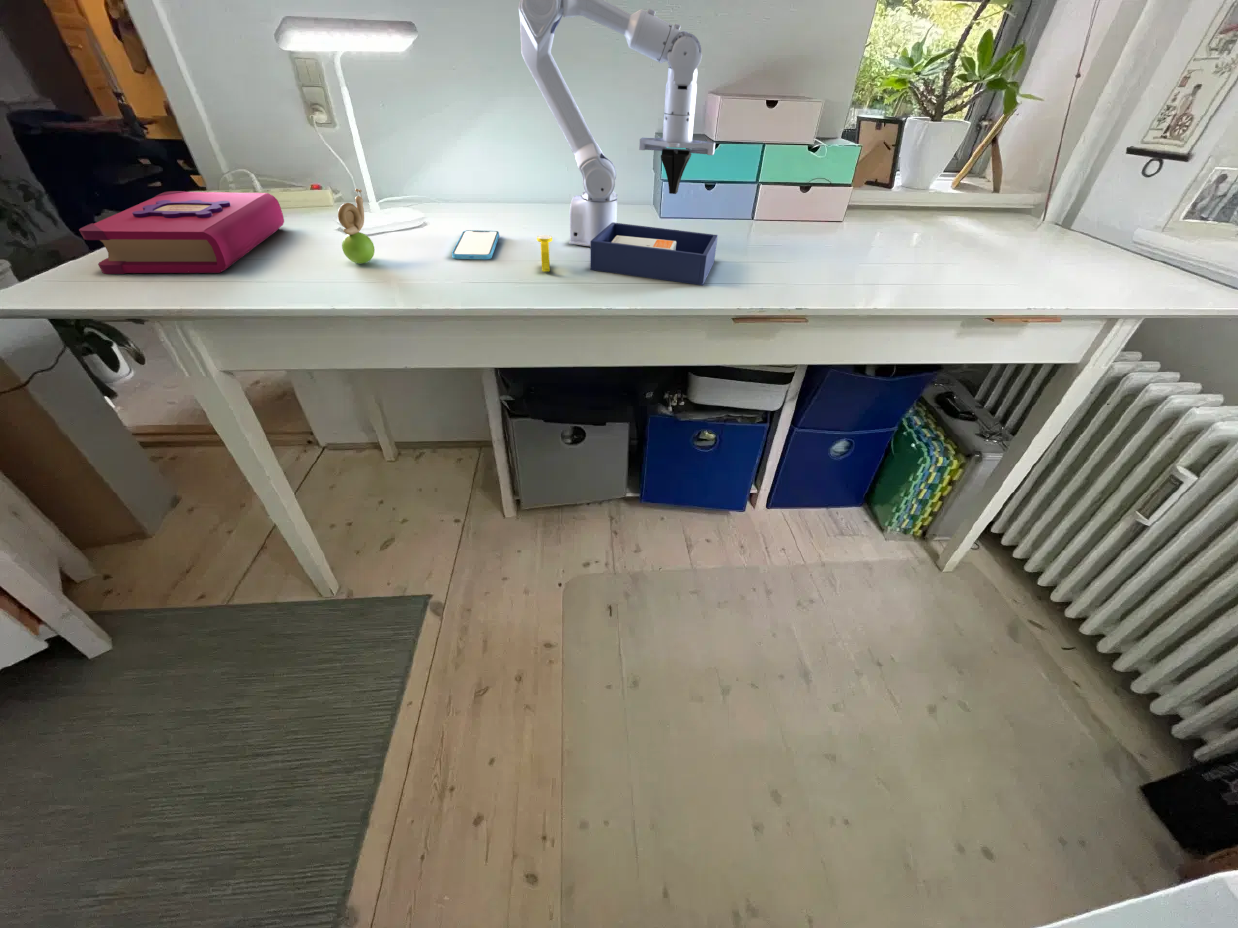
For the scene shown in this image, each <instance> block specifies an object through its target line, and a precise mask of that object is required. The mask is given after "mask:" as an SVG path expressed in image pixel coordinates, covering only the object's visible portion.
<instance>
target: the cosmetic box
mask: <svg viewBox="0 0 1238 928" xmlns="http://www.w3.org/2000/svg"><path fill="white" fill-rule="evenodd" d="M612 242H613V243H621V244H628V245H636V246H644V247H652V248H660V249H668V250H676V241H671V240H661V239H650V238H639V237H628V236H618V235H617V236H616V237H615V238H614V239H613V241H612Z"/></svg>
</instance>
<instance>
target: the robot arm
mask: <svg viewBox="0 0 1238 928" xmlns="http://www.w3.org/2000/svg"><path fill="white" fill-rule="evenodd" d="M518 15H519V27H520V30H519V31H520V52H521V56H522V59H523V61H524V63H525V65H526V67H527V69H528V71H529V73H530V75H531V76H532V78H533V80H534V82H535V84H536V85H537V88H538V89H539V91H540V93H541V95H542V97H543V99H544V101H545V102H546V105H547V106H548V109H549V110H550V113H551V114H552V116H553V118H554V120H555V121H556V123H557V125H558V127H559V129H560V131H561V133H562V135H563V137H564V138H565V140H566V142H567V144H568V146H569V148H570V149H571V151H572V153H573V155H574V159H575V162H576V165H577V168H578V170H579V172H580V174H581V177H582V186H583V190H584V191H583V192H582V193H581V194H580V195H579V194H576V195H573V197H572V199H571V201H570V205H569V238H570V239H569V241H568V245H569V244H570V245H575V246H584V247H590V241H591V240H592V239H593V238H595V237H596V236H597V235H598V234H599V233H600V232H602V231H603V230H604V229H605V228H606V227H607V226H608V225H610V224H611V223H612V222H613V223H618V222H617V220H618V194H617V193H616V192H615V187H616V180H617V169H616V166H615V164H614V162H613V161H612V160H611V159H609V157H607V155H605V154H604V152H603V151H602V149H601V146H600V145H599V144H598V142H597V141H596V139H595V138H594V136H593V134H592V132H591V130H590V128H589V126H588V124H587V122H586V120H585V118H584V116H583V114H582V112H581V109H580V108H579V107H578V104H577V102H576V100H575V98H574V96H573V94H572V92H571V90H570V88H569V86H568V84H567V82H566V80H565V79H564V75H562V72H561V70H560V68H559V66H558V64H557V62H556V60H555V59H554V56H553V54H552V48H553V43H554V39H555V34H556V33H555V32H556V30H557V28H558V26H559V24H560V22H561V21H562V18H566V19H570V18H571V19H572V18H577V17H584V18H586V19H588V20H590V21H593V22H595V23H597V24H598V25H601V26H603V27H606V28H608V29H610V30H612V31H614V32H617V33H619V34H621V35H623V36H624V38H625V40H626V43H627V46H628V49H630V50H632V51H635V52H636V53H639V54H640V55H642V56H645V57H647V58H649V59H650V60H653V61H655V62H656V63H659V64H663V63H666V62H667V64H668V68H667V81H666V83H665V91H664V92H665V93H664V94H665V95H664V109H663V124H662V125H663V126H662V137H640V138H639V145H638V146H639V149H638V150H639V151H657V152H661V155H660V160H661V162H662V165H663V168H664V171H665V174H666V179H667V185H668V194H671V195H676V194H678V192H679V188H680V183H681V180H682V177H683V174H684V172H685V169H686V167H687V165H688V163H689V160H691V157H692V154H699V155H707V156H714V155H715V150H716V142H715V141H704V140H697V139H693V137H694V136H693V135H694V125H695V113H696V102H697V92H698V83H697V80H698V72H699V71H698V67H699V66H700V64H701V62H702V58H703V52H702V45H701V43H700V40H699V39H698V38H697V36H696V35H695V34H693V33H690V32H688V30H681V27H682V25H681V24H680V23H678V22H675V24H672V23H670V22H668V21H667V20H664V19H663V18H660V17H659V16H657V15H656V10H654V9H652V8H650V7H648V9H647V10H645V9H643V8H641V9H639V10H637V11H635V12H633V13H629V12H627V11H625V10H624V9H622V8H620V7H618V6H616V5H615V4H613V3H610V2H609V1H607V0H519V3H518ZM680 30H681V31H680Z"/></svg>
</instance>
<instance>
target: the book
mask: <svg viewBox="0 0 1238 928" xmlns="http://www.w3.org/2000/svg"><path fill="white" fill-rule="evenodd" d="M284 218H285V217H284V213H283V210H282V208H281V205H280V203H279V200H278V199H277V198H276V196H275V195H273V194H271V193H269V192H229V191H227V192H225V191H223V192H221V191H216V192H215V191H214V192H213V191H211V192H210V191H186V190H169V191H164V192H162V193H159V194H157V195H155V196H154V197H152V198H149V199H147V200H145V201H143V202H140V203H139V204H136V205H133V206H131V207H129V208H126V209H125V210H122V211H120V212H117V213H115V214H113V215H111V216H108V217H106V218H103V219H101V220H99V221H97V222H95V223H93V222H92V223H89V224H87V225H85V226H82V227H80V228H79V229H78V231H79V233H80V234H81V236H82V238H83V240H86V241H100V242H101V243H102V244H103V246H104V247H105V249H106V251H107V256H108V257H107V258H105V259H102V260H101V261H99V262H98V263H97V265H98V268H99V269H100V271H101V272H102V274H104V275H125V274H213V273H214V274H220V273H222V272H224V271H226V270H227V269H229V268H230V267H231V266H232V265H234V264H235V263H236V262H238V261H239V260H241V258H243V257H245V256H246V255H247V254H248V253H250V252H251V251H252V250H253V249H254V248H256V247H257V246H258V245H260V244H261V243H262V242H264V241H265V240H266V239H268V238H269V237H270V236H272V235H273V234H274V233H276V232H277V231H278V230H279V229H280V228H282V226H284V224H285V219H284Z"/></svg>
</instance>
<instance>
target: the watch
mask: <svg viewBox="0 0 1238 928" xmlns="http://www.w3.org/2000/svg"><path fill="white" fill-rule="evenodd" d="M536 241H537V242H538V243H540V256H541V257H540V259H541V263H540V264H541V272H542V273H543V272H544V273H545V272H546V273H547V272H548V273H549V272H550V270H551V266H550V243H551V242H553V236H552V235H548V234H540V235H537V236H536Z"/></svg>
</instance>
